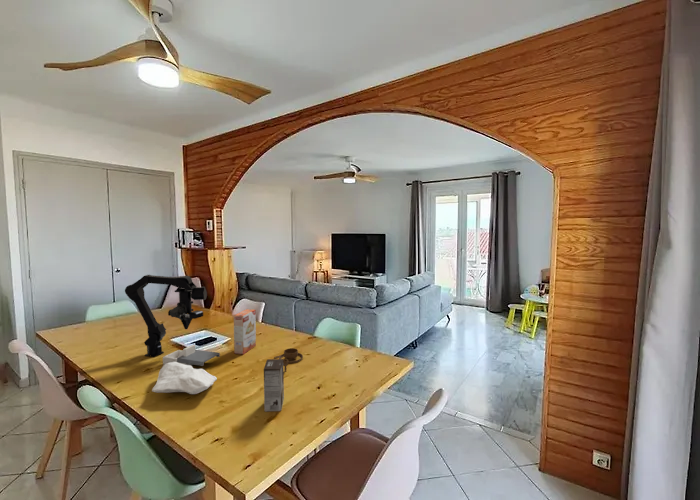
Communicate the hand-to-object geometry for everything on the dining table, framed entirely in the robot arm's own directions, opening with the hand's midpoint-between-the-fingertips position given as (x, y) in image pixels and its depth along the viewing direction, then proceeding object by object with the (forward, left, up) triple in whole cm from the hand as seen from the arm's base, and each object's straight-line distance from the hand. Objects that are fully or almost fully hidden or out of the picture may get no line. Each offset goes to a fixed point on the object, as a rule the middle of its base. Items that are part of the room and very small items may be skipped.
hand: (186, 329), depth 180 cm
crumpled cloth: (+28, -33, -13) cm, 45 cm away
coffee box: (+71, -33, -13) cm, 79 cm away
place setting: (+56, +5, -14) cm, 58 cm away
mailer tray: (+7, -11, -13) cm, 18 cm away
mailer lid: (+17, -11, -10) cm, 23 cm away
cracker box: (+27, +13, -13) cm, 33 cm away
